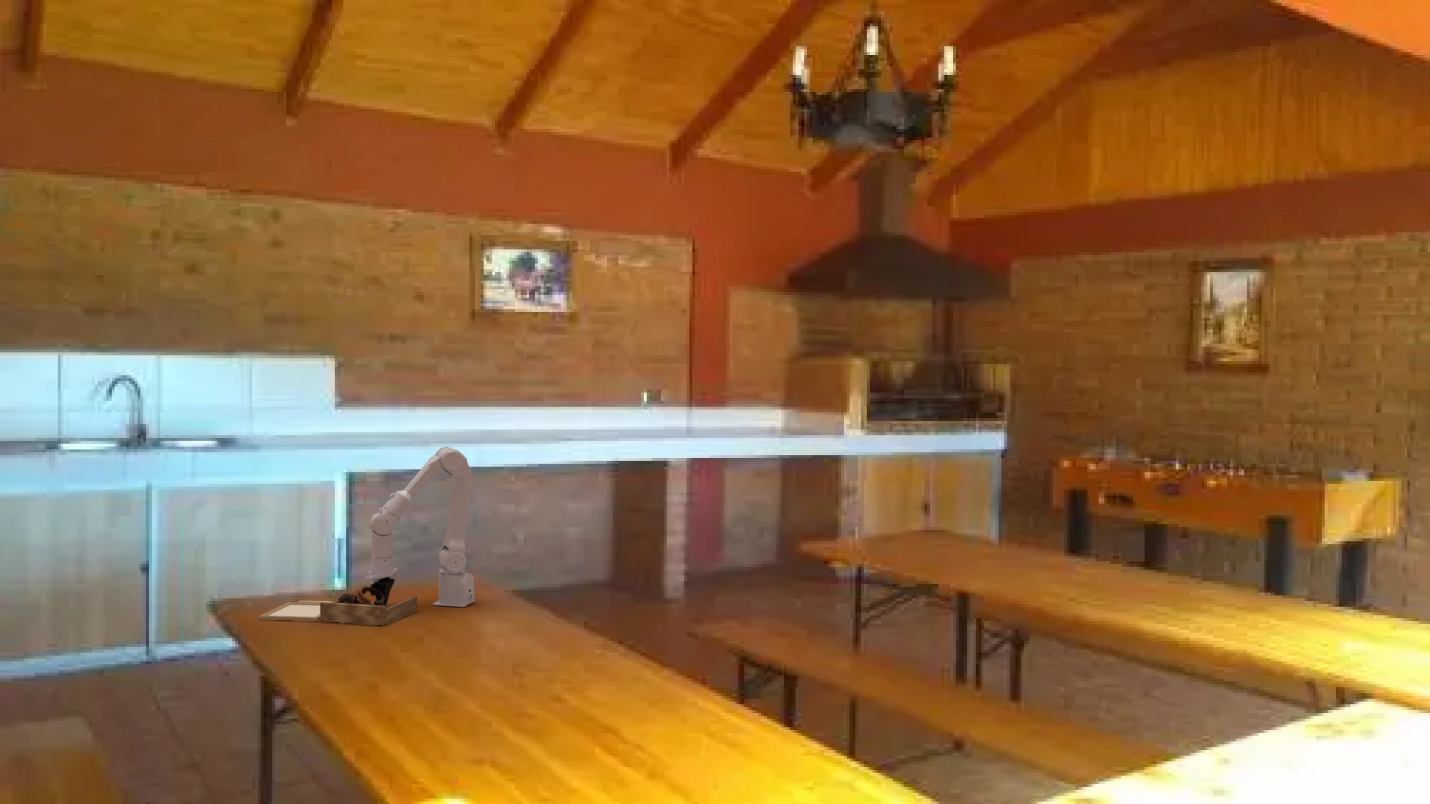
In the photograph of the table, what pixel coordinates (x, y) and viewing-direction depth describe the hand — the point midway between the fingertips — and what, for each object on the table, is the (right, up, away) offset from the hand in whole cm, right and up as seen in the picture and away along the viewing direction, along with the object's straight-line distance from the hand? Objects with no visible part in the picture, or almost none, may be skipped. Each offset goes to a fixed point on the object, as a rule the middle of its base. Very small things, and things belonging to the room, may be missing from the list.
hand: (382, 605), depth 309 cm
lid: (-20, -1, -4) cm, 20 cm away
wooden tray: (-1, -1, -8) cm, 8 cm away
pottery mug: (-4, -2, -6) cm, 7 cm away
